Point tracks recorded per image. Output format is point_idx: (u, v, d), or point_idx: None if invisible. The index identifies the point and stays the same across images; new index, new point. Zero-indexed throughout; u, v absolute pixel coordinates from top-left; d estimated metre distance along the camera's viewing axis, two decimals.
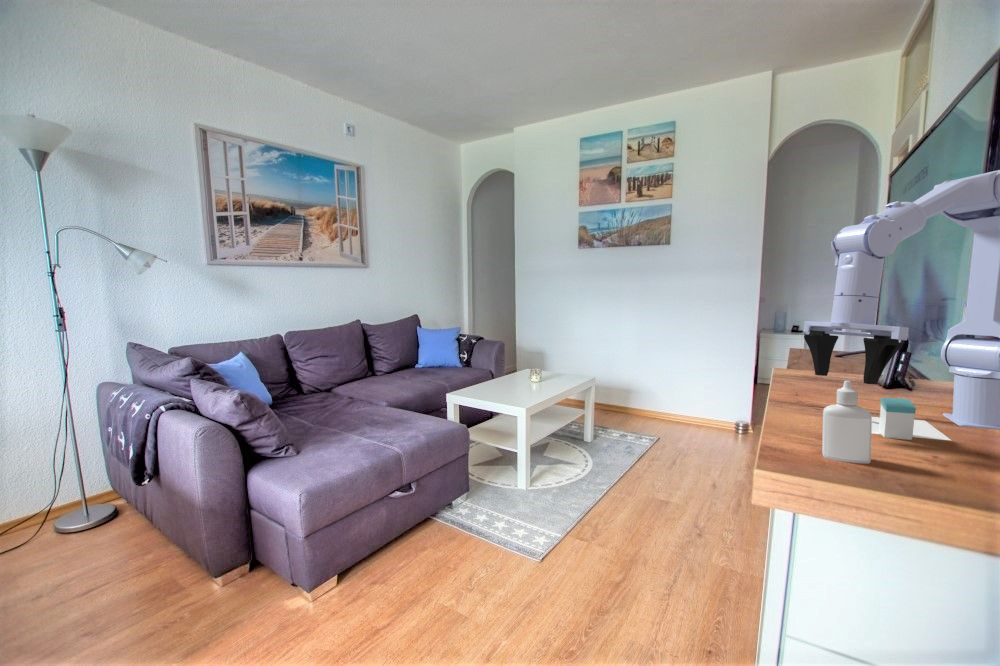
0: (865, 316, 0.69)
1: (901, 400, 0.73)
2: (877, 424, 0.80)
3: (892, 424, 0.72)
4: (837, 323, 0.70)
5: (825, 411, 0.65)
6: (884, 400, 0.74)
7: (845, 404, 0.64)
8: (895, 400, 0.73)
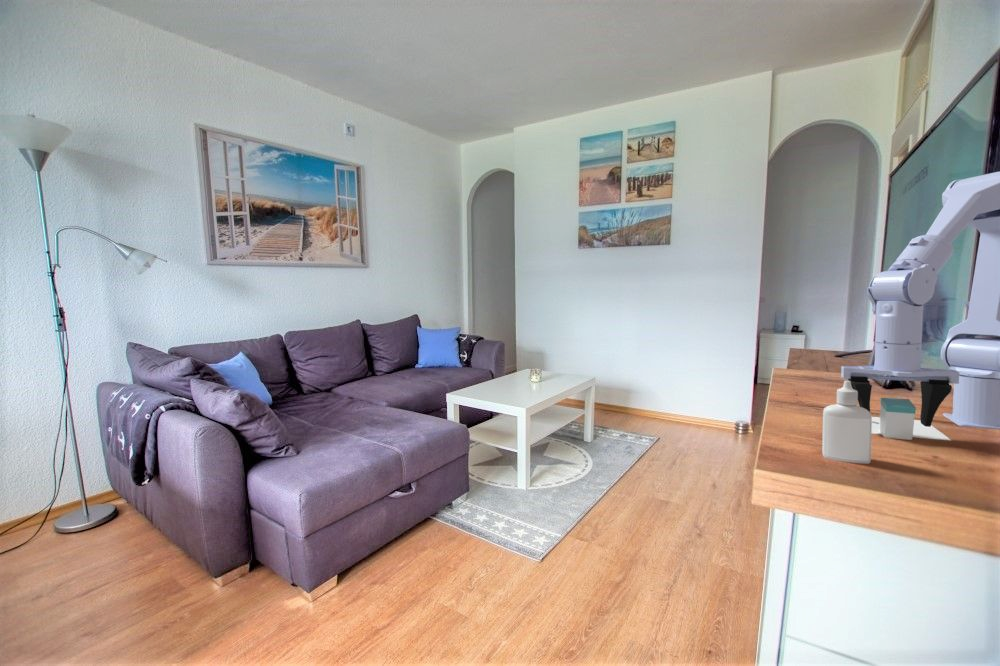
0: (920, 362, 0.70)
1: (901, 400, 0.73)
2: (877, 424, 0.80)
3: (892, 424, 0.72)
4: (907, 374, 0.69)
5: (825, 411, 0.65)
6: (884, 400, 0.74)
7: (845, 404, 0.64)
8: (895, 400, 0.73)
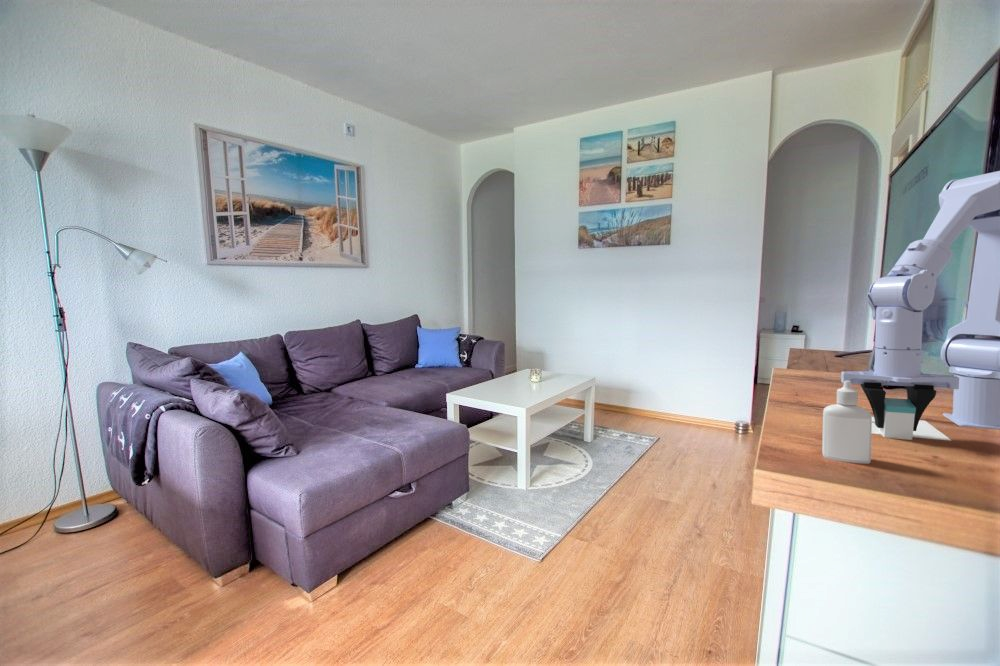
0: (920, 368, 0.70)
1: (901, 400, 0.73)
2: None
3: (892, 424, 0.72)
4: (907, 379, 0.69)
5: (825, 411, 0.65)
6: None
7: (845, 404, 0.64)
8: (895, 400, 0.73)
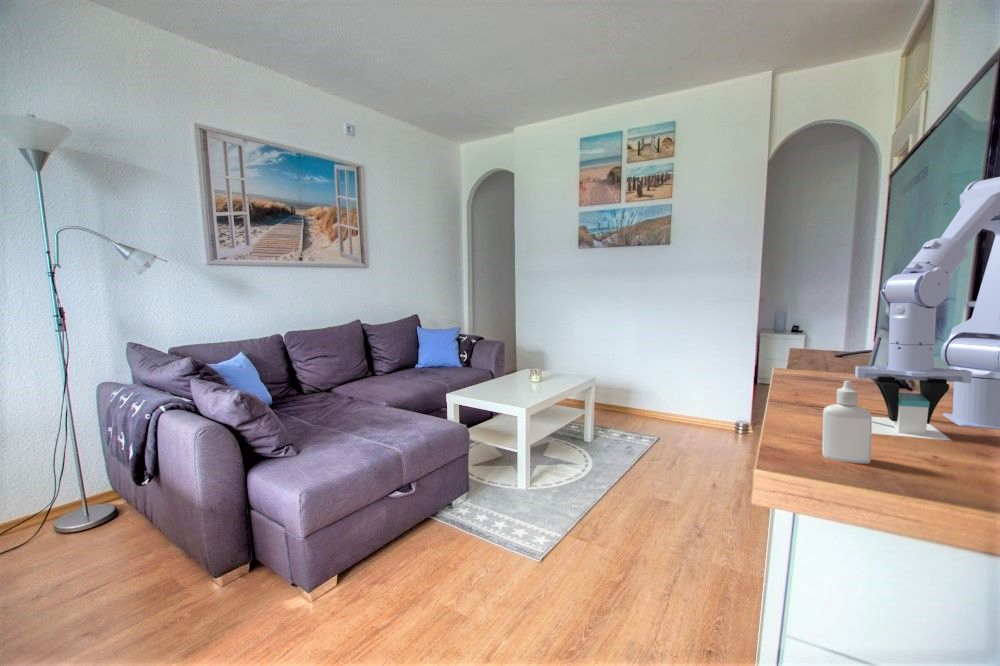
0: (933, 362, 0.72)
1: (915, 395, 0.75)
2: (877, 424, 0.80)
3: (906, 417, 0.74)
4: (921, 373, 0.71)
5: (825, 411, 0.65)
6: (898, 395, 0.76)
7: (845, 404, 0.64)
8: (909, 394, 0.75)
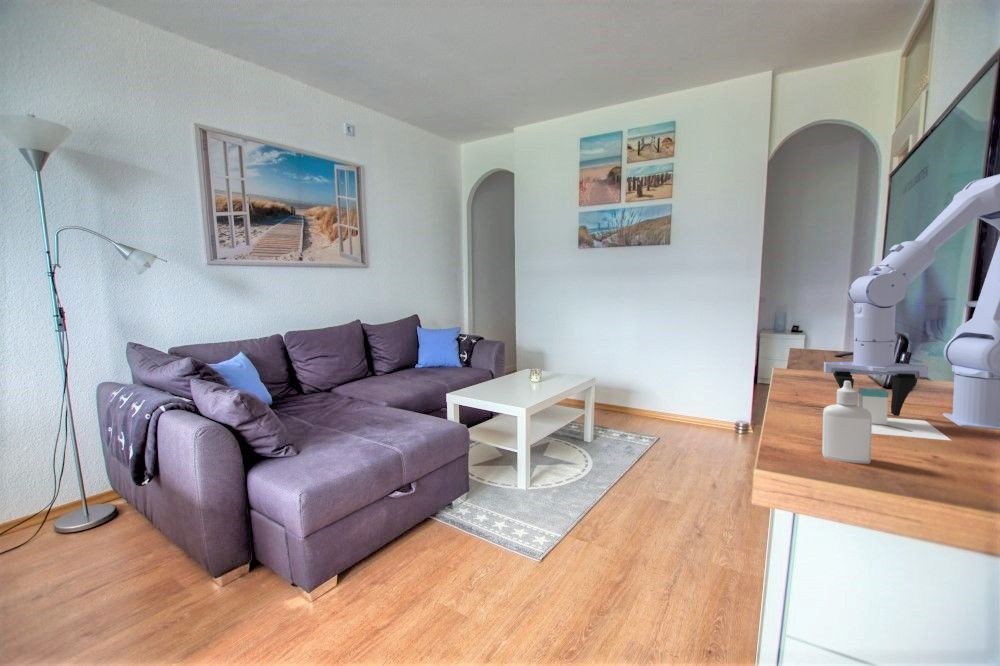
0: (893, 358, 0.78)
1: (876, 389, 0.81)
2: (877, 424, 0.80)
3: (868, 408, 0.80)
4: (881, 368, 0.77)
5: (825, 411, 0.65)
6: (861, 388, 0.82)
7: (845, 404, 0.64)
8: (871, 388, 0.82)
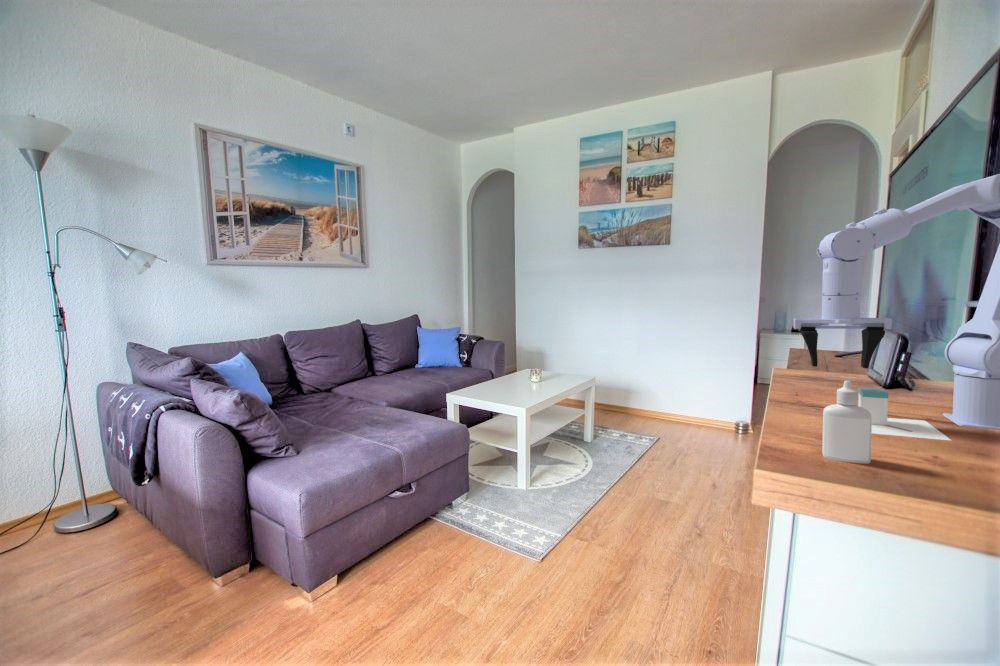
0: (859, 311, 0.80)
1: (876, 389, 0.81)
2: None
3: (868, 408, 0.80)
4: (847, 320, 0.79)
5: (825, 411, 0.65)
6: (861, 389, 0.82)
7: (845, 404, 0.64)
8: (871, 389, 0.82)
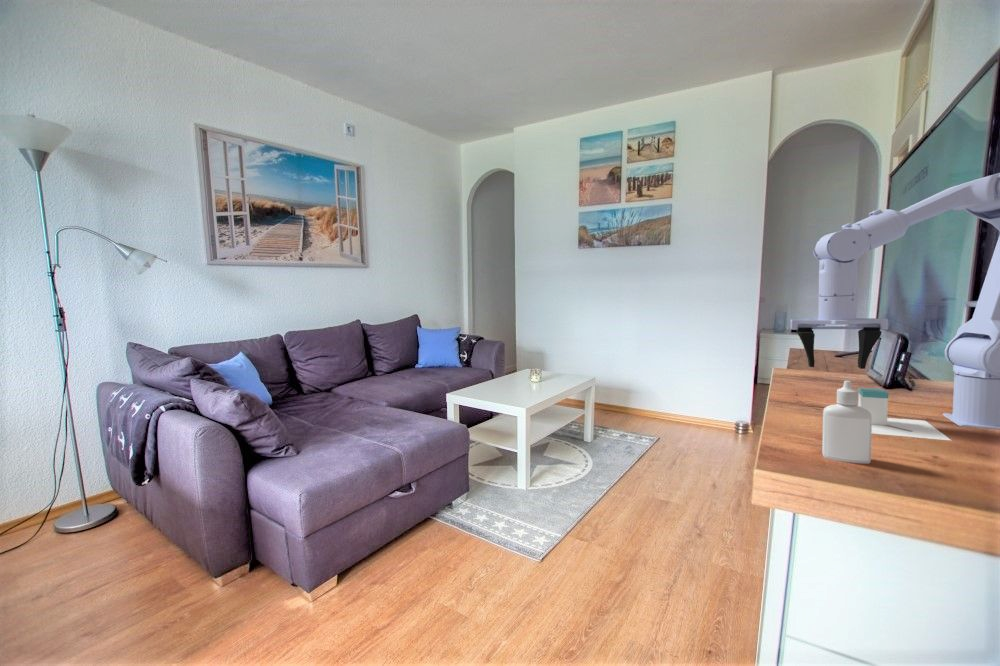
0: (855, 312, 0.80)
1: (876, 389, 0.81)
2: None
3: (868, 408, 0.80)
4: (843, 321, 0.79)
5: (825, 411, 0.65)
6: (861, 389, 0.82)
7: (845, 404, 0.64)
8: (871, 389, 0.82)
